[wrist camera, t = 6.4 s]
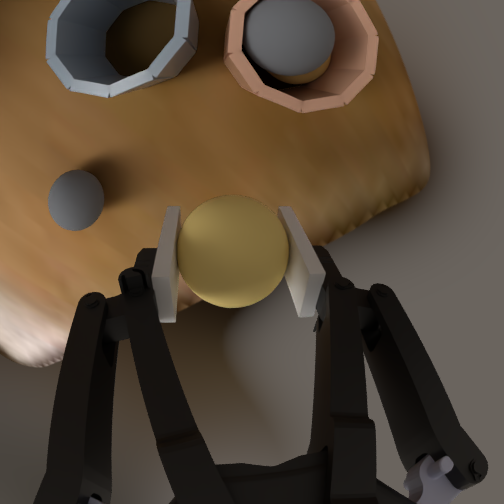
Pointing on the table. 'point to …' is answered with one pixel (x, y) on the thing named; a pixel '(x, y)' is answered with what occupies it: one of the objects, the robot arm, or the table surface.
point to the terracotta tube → (340, 67)
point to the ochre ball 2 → (304, 75)
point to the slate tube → (94, 43)
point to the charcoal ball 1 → (76, 200)
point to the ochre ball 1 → (232, 251)
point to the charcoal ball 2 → (288, 36)
